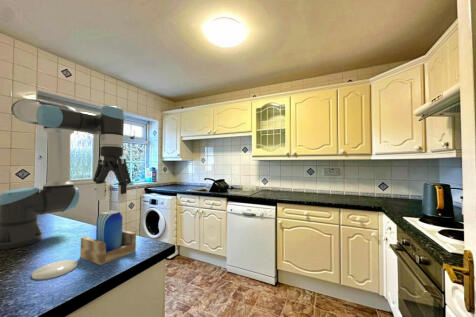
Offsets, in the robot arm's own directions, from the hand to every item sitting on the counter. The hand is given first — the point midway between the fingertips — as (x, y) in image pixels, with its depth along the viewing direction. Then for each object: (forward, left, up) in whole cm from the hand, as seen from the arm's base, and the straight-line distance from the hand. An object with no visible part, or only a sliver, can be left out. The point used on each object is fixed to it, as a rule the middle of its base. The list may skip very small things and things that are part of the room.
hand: (110, 201), depth 78 cm
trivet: (-3, -15, -20) cm, 25 cm away
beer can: (0, 0, -20) cm, 20 cm away
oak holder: (0, 0, -20) cm, 20 cm away
